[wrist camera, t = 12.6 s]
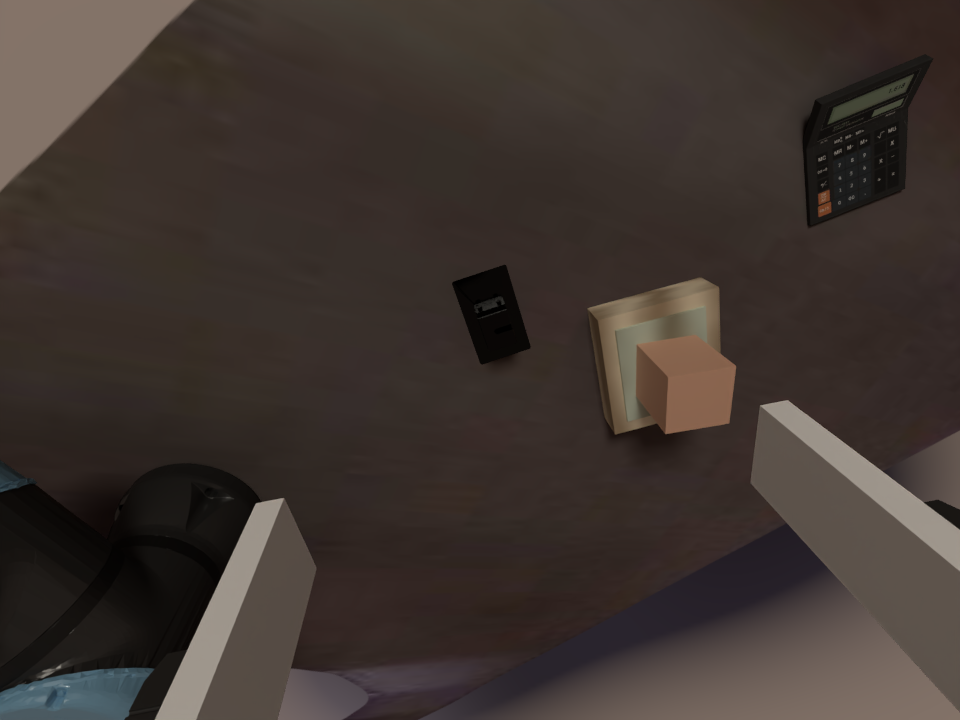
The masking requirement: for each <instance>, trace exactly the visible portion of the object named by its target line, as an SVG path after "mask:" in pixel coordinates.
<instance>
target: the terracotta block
mask: <svg viewBox="0 0 960 720" xmlns="http://www.w3.org/2000/svg"><path fill="white" fill-rule="evenodd" d="M735 371H736V366H735V365H734V364H733V363H731V362H730V361H729V360H728V359H726V358H725V357H724V356H722V355H721V354H720V353H719V352H717V351H716V350H715V349H713V348H712V347H711V346H709V345H708V344H707V343H706V342H704V341H703V340H702V339H700V338H699V337H698V336H697V335H691V336H685V337H678V338H672V339H666V340H660V341H654V342H648V343H642V344H637V352H636V397H637V398H638V399H639V401H640V402H641V403H642V404H643V406H644V407H645V408H646V410H647V411H648V412H649V414H650V415H651V416H652V417H653V419H654V420H655V421H656V423H657V424H658V425H659V427H660V428H661V429H662V430H663V432H664V433H665V434H669V433H675V432H681V431H687V430H693V429H699V428H705V427H711V426H717V425H723V424H729V420H730V412H731V404H732V396H733V388H734V380H735Z"/></svg>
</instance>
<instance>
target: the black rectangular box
mask: <svg viewBox="0 0 960 720" xmlns="http://www.w3.org/2000/svg"><path fill="white" fill-rule="evenodd" d="M452 285H453V288H454V290H455V293H456V296H457V299H458V302H459V305H460V307H461V310H462V313H463V316H464V319H465V321H466V324H467V327H468V330H469V333H470V336H471V338H472V341H473V344H474V347H475V350H476V353H477V355H478V358H479V361H480V364H485V363H488V362H491V361H494V360H497V359H500V358H503V357H506V356H509V355H512V354H515V353H518V352H521V351H524V350H527V349H530V343H529V340H528V337H527V333H526V330H525V327H524V323H523V320H522V317H521V313H520V310H519V307H518V303H517V300H516V297H515V293H514V290H513V287H512V283H511V280H510V277H509V273H508V270H507V267H506V265H502V266H499V267H496V268H493V269H490V270H487V271H484V272H481V273H478V274H475V275H472V276H469V277H466V278H463V279H460V280H457V281H454V282H453V283H452Z"/></svg>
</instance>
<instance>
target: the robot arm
mask: <svg viewBox="0 0 960 720" xmlns="http://www.w3.org/2000/svg"><path fill="white" fill-rule="evenodd" d="M36 483H37V482H36V481H35V480H34V479H32V478H25V477H24V476H22V475H21V474H19V473H18V472H17V471H15V470H14V469H12V468H11V467H9V466H8V465H6V464H5V463H4V462H2V461H1V460H0V720H277V719H278V715H279V711H280V708H281V704H282V700H283V696H284V692H285V688H286V684H287V681H288V677H289V673H290V669H291V665H292V661H293V657H294V654H295V650H296V646H297V642H298V638H299V634H300V630H301V626H302V623H303V619H304V615H305V611H306V607H307V603H308V599H309V596H310V592H311V588H312V584H313V580H314V576H315V572H316V569H317V568H316V566H315V564H314V561H313V559H312V557H311V555H310V553H309V551H308V548H307V546H306V544H305V542H304V540H303V538H302V536H301V533H300V531H299V529H298V527H297V525H296V523H295V520H294V518H293V516H292V514H291V512H290V510H289V507H288V505H287V503H286V501H285V499H284V498H281V499H276V500H271V501H266V502H260V500H259V499H258V497H257V496H256V494H255V493H254V492H253V491H252V490H251V489H250V488H249V487H248V486H247V485H246V484H245V483H243V482H242V481H241V480H239V479H237V478H236V477H234V476H232V475H230V474H228V473H226V472H224V471H221V470H219V469H216V468H212V467H208V466H204V465H197V464H173V465H167V466H163V467H159V468H156V469H154V470H151V471H149V472H147V473H146V474H144V475H143V476H141V477H140V478H139V479H138V480H137V481H136V482H135V483H134V484H133V485H132V486H131V488H130V489H129V490H128V491H127V492H126V494H125V495H124V496H123V497H122V499H121V501H120V502H119V504H118V507H117V509H116V513H115V518H114V523H113V525H112V527H111V530H110V533H109V535H108V539H106V538H104V537H103V536H102V535H100V534H99V533H98V532H97V531H95V530H94V529H93V528H91V527H90V526H89V525H87V524H86V523H85V522H83V521H82V520H81V519H80V518H78V517H77V516H76V515H74V514H73V513H72V512H70V511H69V510H68V509H67V508H65V507H64V506H63V505H61V504H60V503H59V502H57V501H56V500H55V499H53V498H52V497H51V496H50V495H48V494H47V493H46V492H44V491H43V490H42V489H40V488H39V487H38V486H37V485H35V484H36ZM751 484H752V485H753V486H754V487H755V488H756V490H757V491H758V492H759V493H760V494H761V495H762V496H763V497H764V498H765V499H766V500H767V502H768V503H769V504H770V505H771V506H772V507H773V508H774V509H775V510H776V511H777V513H778V514H779V515H780V516H781V517H782V518H783V519H784V520H785V521H786V522H787V523H788V525H789V526H790V527H791V528H792V529H793V530H794V531H795V532H796V533H797V534H798V536H799V537H800V538H801V539H802V540H803V541H804V542H805V543H806V544H807V545H808V546H809V548H810V549H812V551H813V552H814V553H815V554H816V555H817V556H818V557H819V558H820V560H821V561H822V562H823V563H824V564H825V565H826V566H827V567H828V568H829V569H830V571H831V572H832V573H833V574H834V575H835V576H836V577H837V578H838V579H839V580H840V582H841V583H842V584H843V585H844V586H845V587H846V588H847V589H848V590H849V591H850V593H851V594H852V595H853V596H854V597H855V598H856V599H857V600H858V601H859V602H860V603H861V604H862V606H863V607H864V608H865V609H866V610H867V611H868V612H869V613H870V614H871V615H872V617H873V618H874V619H875V620H876V621H877V622H878V623H879V624H880V625H881V626H882V628H883V629H884V630H885V631H886V632H887V633H888V634H889V635H890V636H891V637H892V638H893V640H894V641H895V642H896V643H897V644H898V645H899V646H900V647H901V648H902V649H903V651H904V652H905V653H906V654H907V655H908V656H909V657H910V658H911V659H912V660H913V661H914V663H915V664H916V665H917V666H918V667H919V668H920V669H921V670H922V671H923V672H924V673H925V675H926V676H927V677H928V678H929V679H930V680H931V681H932V682H933V683H934V684H935V686H936V687H937V688H938V689H939V690H940V691H941V692H942V693H943V694H944V695H945V697H946V698H947V699H948V700H949V701H950V702H951V703H952V704H953V705H954V706H955V708H956V709H957V710H958V711H959V712H960V510H959V509H957V508H955V507H953V506H951V505H948V504H946V503H944V502H942V501H939V500H935V501H929V502H924V503H923V502H922V501H921V500H919V499H918V498H916V497H915V496H914V495H913V494H911V493H910V492H909V491H907V490H906V489H905V488H903V487H902V486H901V485H899V484H898V483H897V482H895V481H894V480H893V479H891V478H890V477H889V476H887V475H886V474H885V473H883V472H882V471H881V470H879V469H878V468H877V467H875V466H874V465H873V464H871V463H870V462H869V461H867V460H866V459H865V458H863V457H862V456H861V455H859V454H858V453H857V452H856V451H854V450H853V449H852V448H850V447H849V446H848V445H846V444H845V443H844V442H842V441H841V440H840V439H838V438H837V437H836V436H834V435H833V434H832V433H830V432H829V431H828V430H826V429H825V428H824V427H822V426H821V425H820V424H818V423H817V422H816V421H814V420H813V419H812V418H810V417H809V416H808V415H806V414H805V413H804V412H802V411H801V410H800V409H798V408H797V407H796V406H794V405H793V404H792V403H790V402H789V401H788V400H787V401H781V402H776V403H771V404H766V405H761V406H760V410H759V418H758V427H757V435H756V443H755V451H754V459H753V467H752V475H751Z"/></svg>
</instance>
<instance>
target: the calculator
mask: <svg viewBox="0 0 960 720" xmlns="http://www.w3.org/2000/svg"><path fill="white" fill-rule="evenodd" d="M932 60H933V58H931V57H929V56H927V55H926V54H925V55H922V56H920V57H917V58H915V59H913V60H910V61H908V62H905V63H903V64H900V65H898V66H896V67H893V68H891V69H888V70H886V71H884V72H881V73H879V74H876V75H874V76H872V77H869V78H867V79H864V80H862V81H860V82H857V83H855V84H852V85H850V86H847V87H845V88H843V89H840V90H838V91H835V92H833V93H831V94H828V95H826V96H823V97H821V98H819V99H816V100H815V102H814V106H813V109H812V112H811V115H810V118H809V122H808V125H807V128H806V131H805V134H804V138H803V154H804V171H805V188H806V206H807V223H808V225H810V226H811V225H814V224H816V223H819V222H821V221H824V220H826V219H829V218H831V217H834V216H836V215H839V214H842V213H844V212H847V211H849V210H852V209H854V208H857V207H859V206H862V205H864V204H867V203H870V202H872V201H875V200H877V199H880V198H882V197H885V196H887V195H890V194H892V193H895V192H897V191H900V190H903V189H905V177H906V149H907V122H908V107H909V105H910V103H911V101H912V99H913V97H914V95H915V93H916V91H917V90H918V88H919V86H920V84H921V82H922V80H923V78H924V76H925V74H926V72H927V70H928V68H929V66H930V64H931V62H932Z"/></svg>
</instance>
